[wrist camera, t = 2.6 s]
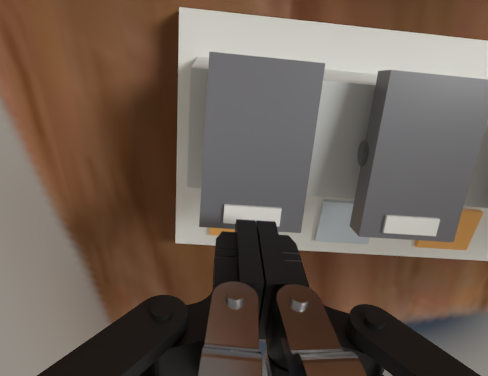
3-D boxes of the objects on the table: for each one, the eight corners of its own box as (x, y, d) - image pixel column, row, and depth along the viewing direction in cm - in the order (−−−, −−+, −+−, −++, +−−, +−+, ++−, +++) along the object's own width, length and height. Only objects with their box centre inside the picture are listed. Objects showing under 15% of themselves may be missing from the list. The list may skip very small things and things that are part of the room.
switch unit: (560, 48, 21) (674, 61, 16) (470, 244, 27) (530, 301, 22) (183, 7, 19) (166, 6, 14) (178, 226, 25) (165, 284, 20)
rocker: (313, 65, 15) (326, 63, 13) (292, 218, 17) (301, 234, 15) (210, 55, 15) (209, 51, 13) (201, 212, 17) (198, 228, 15)
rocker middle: (468, 80, 16) (500, 80, 14) (431, 226, 18) (455, 243, 16) (372, 71, 15) (393, 69, 14) (345, 221, 17) (360, 238, 16)
